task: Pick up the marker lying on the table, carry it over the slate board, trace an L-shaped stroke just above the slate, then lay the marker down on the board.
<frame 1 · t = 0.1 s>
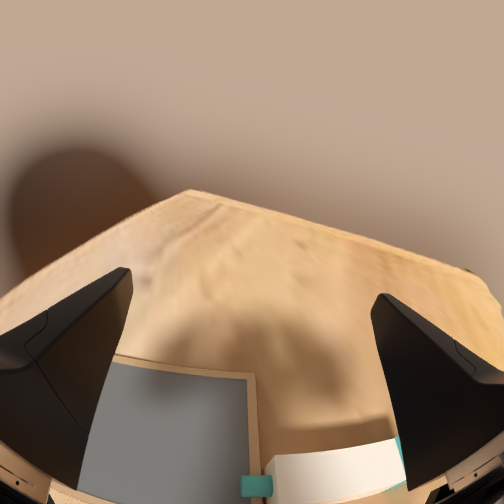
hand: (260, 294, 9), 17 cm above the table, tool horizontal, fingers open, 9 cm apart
slate board: (127, 432, 17), on the table
marker: (338, 482, 15), on the table
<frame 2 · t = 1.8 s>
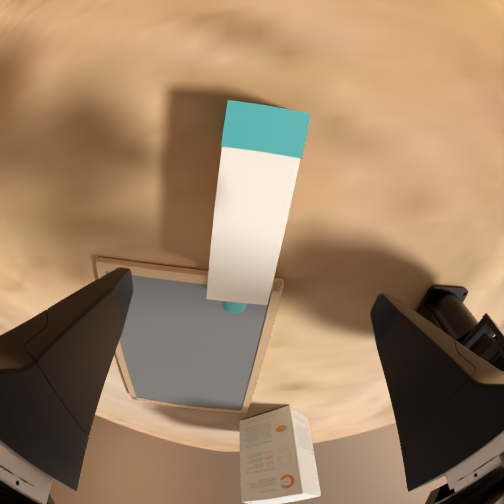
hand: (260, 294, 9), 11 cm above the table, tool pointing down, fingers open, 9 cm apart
small box: (274, 418, 34), on the table
slate board: (186, 355, 26), on the table
marker: (248, 194, 19), on the table
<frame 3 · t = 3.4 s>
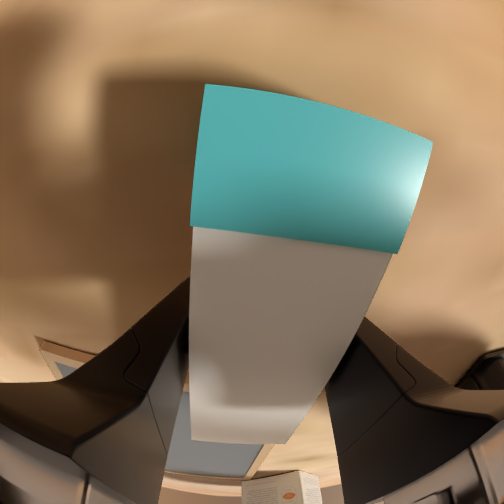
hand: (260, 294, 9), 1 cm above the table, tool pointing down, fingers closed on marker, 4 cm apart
small box: (280, 477, 26), on the table
slate board: (175, 440, 18), on the table
marker: (258, 276, 10), on the table, touching gripper
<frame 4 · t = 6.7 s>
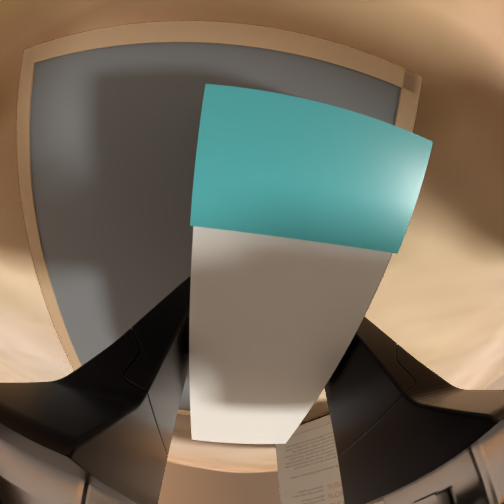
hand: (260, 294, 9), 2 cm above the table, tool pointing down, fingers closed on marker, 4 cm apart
small box: (330, 425, 20), on the table
slate board: (182, 291, 12), on the table
marker: (259, 276, 10), point 1 cm above the table, touching gripper
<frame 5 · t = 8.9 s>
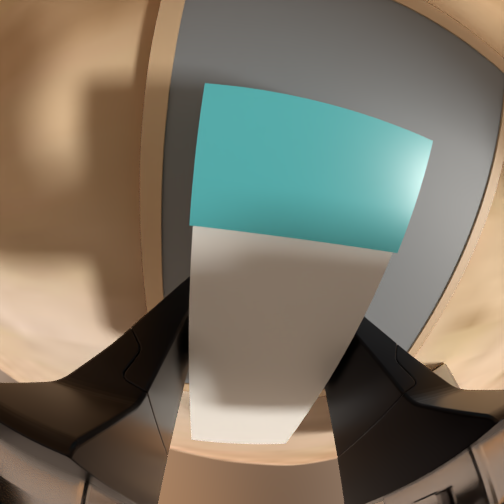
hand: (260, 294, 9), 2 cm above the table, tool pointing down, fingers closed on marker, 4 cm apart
slate board: (340, 234, 11), on the table
marker: (258, 276, 10), point 1 cm above the table, touching gripper
when the fingers open (2 cm above the table, at t = 10.4 s): marker stays where it is, resting on slate board.
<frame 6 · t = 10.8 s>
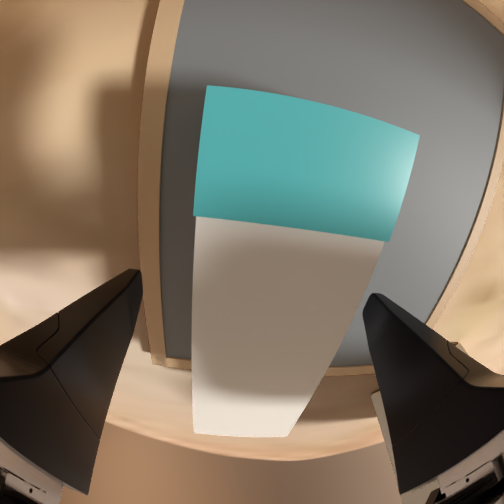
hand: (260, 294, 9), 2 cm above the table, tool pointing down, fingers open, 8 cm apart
small box: (419, 382, 18), on the table
slate board: (354, 178, 10), on the table
marker: (258, 270, 11), point 1 cm above the table, touching slate board
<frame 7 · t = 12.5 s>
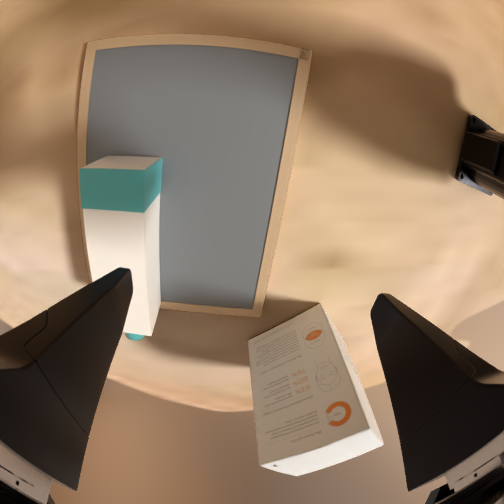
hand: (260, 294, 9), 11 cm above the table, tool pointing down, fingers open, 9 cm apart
small box: (297, 338, 27), on the table
slate board: (176, 185, 19), on the table
marker: (133, 236, 19), point 1 cm above the table, touching slate board
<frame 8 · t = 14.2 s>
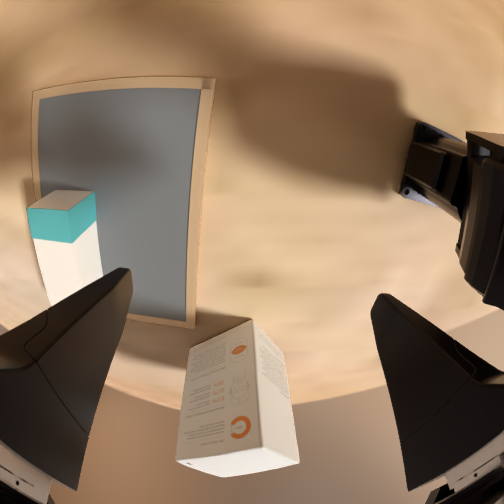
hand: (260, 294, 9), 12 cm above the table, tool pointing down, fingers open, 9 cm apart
small box: (236, 349, 28), on the table
slate board: (109, 213, 20), on the table
marker: (81, 256, 21), point 1 cm above the table, touching slate board
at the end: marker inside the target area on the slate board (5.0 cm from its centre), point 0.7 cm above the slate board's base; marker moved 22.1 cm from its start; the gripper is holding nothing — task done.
